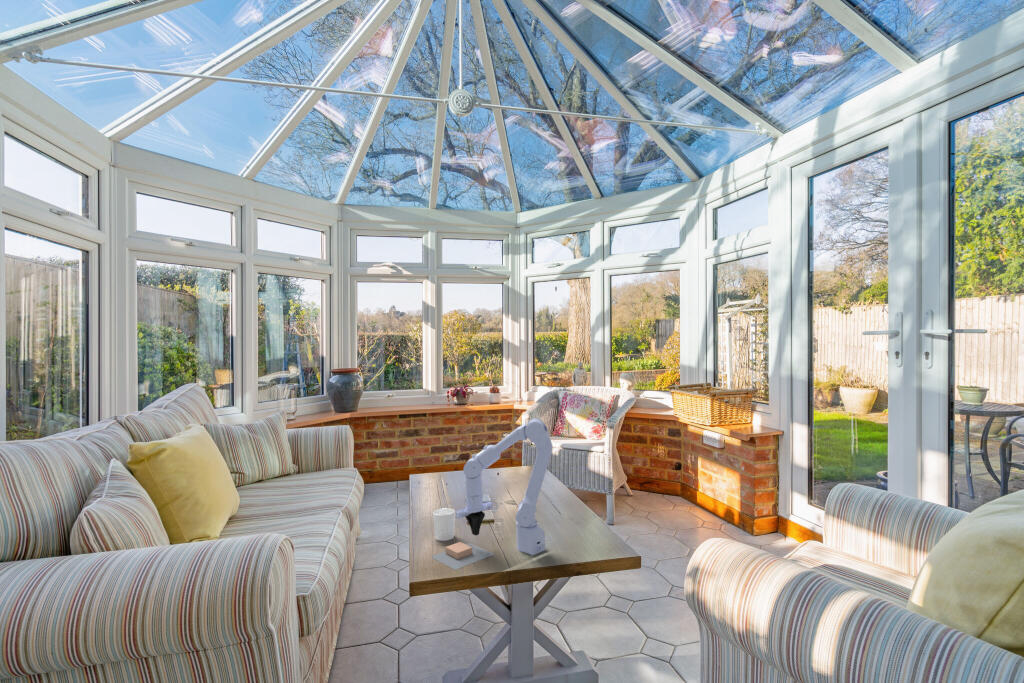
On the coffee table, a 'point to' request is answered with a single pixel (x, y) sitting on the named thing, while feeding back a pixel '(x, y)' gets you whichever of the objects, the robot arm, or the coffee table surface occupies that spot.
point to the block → (458, 550)
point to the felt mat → (458, 563)
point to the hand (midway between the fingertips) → (475, 534)
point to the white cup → (444, 523)
